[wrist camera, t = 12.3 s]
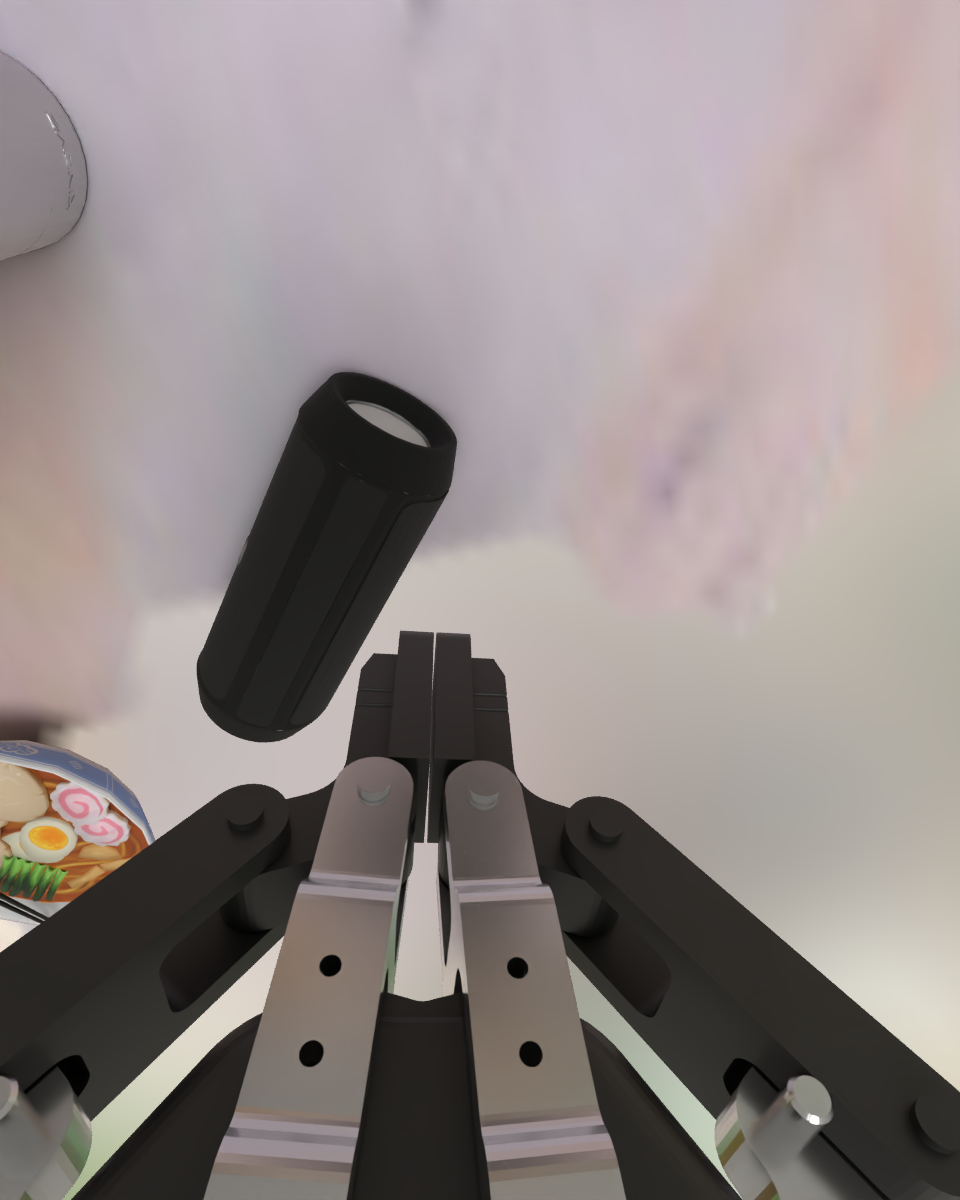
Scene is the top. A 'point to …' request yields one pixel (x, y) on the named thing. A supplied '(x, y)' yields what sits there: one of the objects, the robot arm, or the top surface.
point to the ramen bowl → (60, 828)
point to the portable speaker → (323, 554)
